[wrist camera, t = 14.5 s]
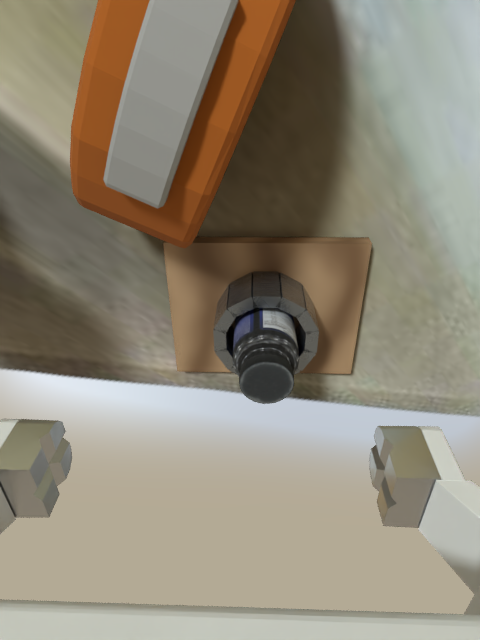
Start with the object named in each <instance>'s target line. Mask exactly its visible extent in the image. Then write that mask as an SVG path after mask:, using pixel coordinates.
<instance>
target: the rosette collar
mask: <svg viewBox="0 0 480 640" xmlns="http://www.w3.org/2000/svg"><path fill="white" fill-rule="evenodd" d="M254 308H279V309H281V310H283V311H285V312H287V313H289V314H290V315H292V316H294V317H296V318H297V319H298V321H299V323H300V324H299V325H298V326H297V327H296V329H295V332H296V339H297V346H298V352H299V365H298V368H297V370H296V372H295V374H297V373H299V372H300V370H301V371H302V370H303V369H304V368H305V367H306V365H307V364H308V363H309V362H310V361H311V360H312V358H313V357H314V356H315V355H316V353H317V346H318V336H319V329H318V324H317V319H316V314H315V309H314V305H313V302H312V300H311V298H310V297H309V295H308V293H307V291H306V290H305V288H304V286H303V284H302V285H301V283H300V282H298V281H296V280H294V279H293V278H291V277H289V276H287V275H285V274H283V273H281V272H280V273H279V272H278V271H253V273H252V272H250V273H248V274H246V275H244V276H242V277H240V278H239V279H237V280H235V281H233V282H231V283H230V284H229V285H228V286H227V288H226V290H225V291H224V293H223V294H222V296H221V298H220V299H219V301H218V303H217V309H216V315H215V322H214V329H213V335H214V351H215V354H216V355H217V356H218V357H219V359H220V360H221V361H222V363H223V364H224V365H225V367H226V368H227V369H228V370H229V371H231V372H233V373H235V374H237V373H236V371H235V369H234V366H233V361H232V360H233V344H234V328H233V326H232V325H231V324H232V323H233V321H234V320H235V318H236V317H237V316H239V315H241V314H243V313H246V312H248V311H250V310H252V309H254Z"/></svg>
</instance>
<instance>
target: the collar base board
mask: <svg viewBox="0 0 480 640" xmlns="http://www.w3.org/2000/svg"><path fill="white" fill-rule="evenodd" d="M371 246H372V243H371V241H370V239H369V238H336V237H195V239H194V241H193V243H192V244H191V245H189V246H188V247H187V248H181V247H178V246H175V245H173V244H171V243H168V242H166V241H164V242H163V247H164V256H165V265H166V274H167V282H168V291H169V300H170V309H171V318H172V327H173V336H174V345H175V354H176V363H177V371H188V372H231V371H229V370H228V369H227V368H226V367H225V365H224V364H223V363H222V361H221V360H220V359H219V357H218V356H217V355H216V354H215V351H214V335H213V329H214V322H215V315H216V309H217V303H218V301H219V299H220V298H221V296H222V294H223V293H224V291H225V290H226V288H227V286H228V285H229V284H230V283H231V282H233V281H235V280H237V279H239V278H240V277H242V276H244V275H246V274H248V273H250V272H252V273H253V271H278V272H279V273H280V272H281V273H283V274H285V275H287V276H289V277H291V278H293V279H294V280H296V281H298V282H300V283H301V285H302V284H303V286H304V288H305V290H306V291H307V293H308V295H309V297H310V298H311V300H312V302H313V305H314V309H315V314H316V319H317V324H318V329H319V336H318V346H317V353H316V355H315V356H314V357H313V358H312V360H311V361H310V362H309V363H308V364H307V365H306V367H305V368H304V369H303V370H302V371H301V370H300V372H299V373H331V374H351V369H352V363H353V357H354V351H355V344H356V338H357V332H358V326H359V320H360V314H361V308H362V302H363V295H364V289H365V283H366V277H367V271H368V265H369V259H370V253H371ZM293 318H294V325H295V329H296V327H297V326H298V325H299V324H300V323H299V321H298V319H297V318H296V317H294V316H293ZM231 325H232V326H233V328H235V320H234V321H233V323H232V324H231Z"/></svg>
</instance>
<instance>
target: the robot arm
mask: <svg viewBox="0 0 480 640" xmlns="http://www.w3.org/2000/svg"><path fill="white" fill-rule="evenodd" d="M64 433H65V428H64V426H63V423H62V422H60V421H49V420H26V419H25V420H24V419H21V420H20V419H2V420H1V421H0V534H1V533H2V532H3V531H4V530H5V529H6V528H7V527H8V526H9V525H10V524H11V523H13V522H14V520H16V518H15V517H50V514H51V512H52V509H53V507H54V505H55V503H56V501H57V498H58V496H59V492H58V489H57V486H58V485H59V484H60V483H61V482H63V481H64V480H65V479H66V478H67V475H68V473H69V470H70V465H71V460H72V452H71V447H70V443H69V442H68V441H66V440H65V439H64V438H63V435H64ZM374 438H375V442H376V445H375V446H374V447H373V448H372V449H371V453H370V474H371V479H372V484H373V486H374V487H375V488H376V489H377V490H378V491H379V495H378V499H377V503H378V507H379V511H380V515H381V519H382V522H383V526H394V527H414V528H419V531H420V532H421V533H422V534H423V535H424V537H425V538H426V539H427V540H428V541H429V542H430V544H431V545H432V546H433V547H434V548H435V549H436V550H437V552H438V553H439V554H440V555H441V556H442V557H443V559H444V560H445V561H446V562H447V563H448V564H449V565H450V567H451V568H452V569H453V570H454V571H455V572H456V574H457V575H458V576H459V577H460V578H461V579H462V580H463V582H464V583H465V584H466V585H467V586H468V587H469V589H470V590H471V591H472V592H473V593H474V594H475V595H474V597H473V599H472V600H471V602H470V604H469V606H468V608H467V609H466V611H465V613H464V614H434V613H402V612H371V611H341V610H309V609H280V608H249V607H218V606H186V605H155V604H153V605H152V604H121V603H91V602H59V601H28V600H0V640H480V487H479V486H478V485H477V484H475V483H474V482H473V481H467V480H465V478H464V476H463V474H462V472H461V470H460V467H459V465H458V463H457V461H456V459H455V457H454V455H453V453H452V451H451V448H450V446H449V444H448V442H447V440H446V438H445V436H444V434H443V432H442V430H441V429H440V428H439V427H425V426H422V427H421V426H418V427H416V426H378V427H377V428H376V431H375V434H374Z"/></svg>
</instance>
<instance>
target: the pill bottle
mask: <svg viewBox="0 0 480 640" xmlns="http://www.w3.org/2000/svg"><path fill="white" fill-rule="evenodd" d="M232 361H233V366H234V369H235V371H236V373H237V375H238V376H239V384H240V389H241V391H242V392H243V394H244V395H245V396H246V397H247V398H249V399H251V400H253V401H255V402H258V403H263V404H265V403H275V402H278V401H280V400H283V399H284V398H286V397H287V396H288V395H289V394H290V393H291V391H292V389H293V386H294V374H295V372H296V370H297V368H298V365H299V352H298V346H297V339H296V332H295V325H294V318H293V316H292V315H290V314H289V313H287V312H285V311H283V310H281V309H279V308H254V309H252V310H250V311H248V312H246V313H243V314H241V315H239V316H237V317H236V318H235V328H234V344H233V360H232Z"/></svg>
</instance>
